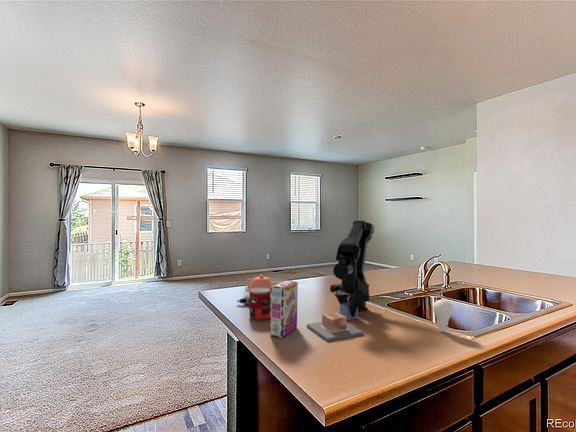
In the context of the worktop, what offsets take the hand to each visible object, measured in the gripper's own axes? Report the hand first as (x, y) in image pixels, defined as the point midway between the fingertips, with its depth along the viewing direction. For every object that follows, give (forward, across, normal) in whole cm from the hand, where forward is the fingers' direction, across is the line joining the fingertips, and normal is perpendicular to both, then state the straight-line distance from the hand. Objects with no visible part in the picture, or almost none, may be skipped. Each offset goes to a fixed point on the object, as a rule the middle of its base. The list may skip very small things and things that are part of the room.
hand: (348, 314), depth 121 cm
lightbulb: (+1, -26, -20) cm, 33 cm away
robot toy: (+1, +30, +28) cm, 41 cm away
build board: (+1, -10, +13) cm, 16 cm away
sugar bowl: (+1, +46, +21) cm, 51 cm away
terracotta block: (0, -10, +13) cm, 16 cm away
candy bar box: (+1, -4, +29) cm, 29 cm away
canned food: (+1, +13, +32) cm, 35 cm away
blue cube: (+1, 0, 0) cm, 1 cm away
